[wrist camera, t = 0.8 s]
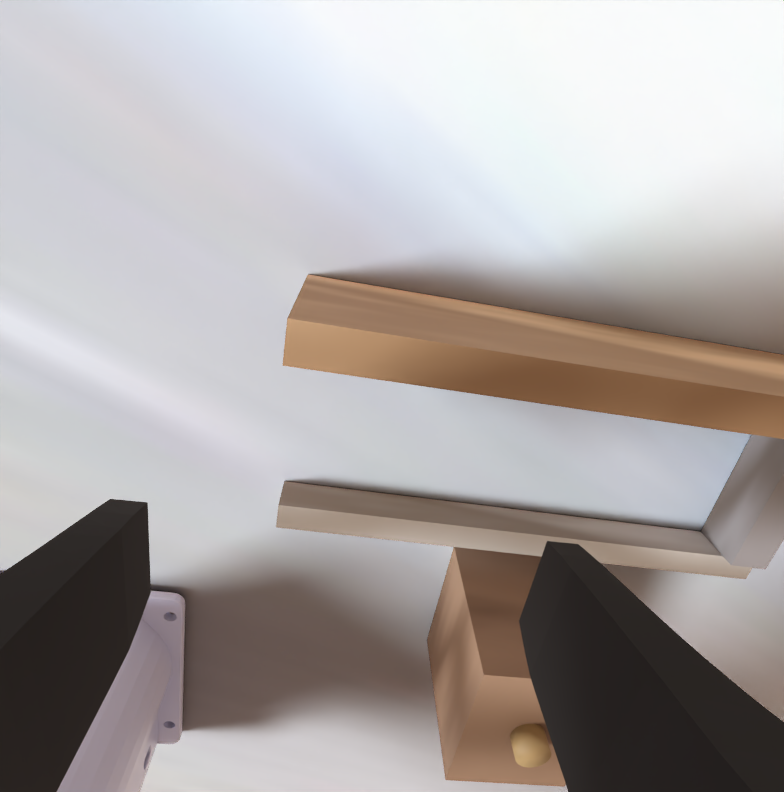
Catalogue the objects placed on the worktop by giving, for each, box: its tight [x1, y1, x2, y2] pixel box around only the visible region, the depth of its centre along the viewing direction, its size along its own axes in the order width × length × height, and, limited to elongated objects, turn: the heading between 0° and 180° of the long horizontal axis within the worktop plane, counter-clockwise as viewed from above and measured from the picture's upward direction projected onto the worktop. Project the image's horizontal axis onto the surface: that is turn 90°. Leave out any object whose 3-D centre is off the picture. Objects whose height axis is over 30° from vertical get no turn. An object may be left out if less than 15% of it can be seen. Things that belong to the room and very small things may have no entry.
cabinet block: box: [427, 547, 566, 786], centre depth 20 cm, size 6×4×7 cm
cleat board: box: [276, 275, 784, 579], centre depth 17 cm, size 9×19×5 cm, turn 80°
